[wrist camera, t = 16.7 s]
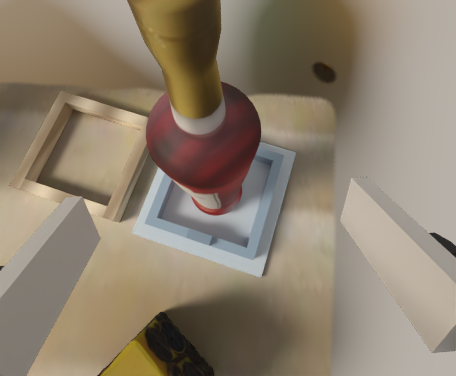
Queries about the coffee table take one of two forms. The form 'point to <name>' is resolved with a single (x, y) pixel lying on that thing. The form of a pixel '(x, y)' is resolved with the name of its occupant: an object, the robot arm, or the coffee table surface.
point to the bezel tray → (222, 224)
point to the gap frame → (49, 137)
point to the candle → (158, 354)
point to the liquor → (196, 105)
